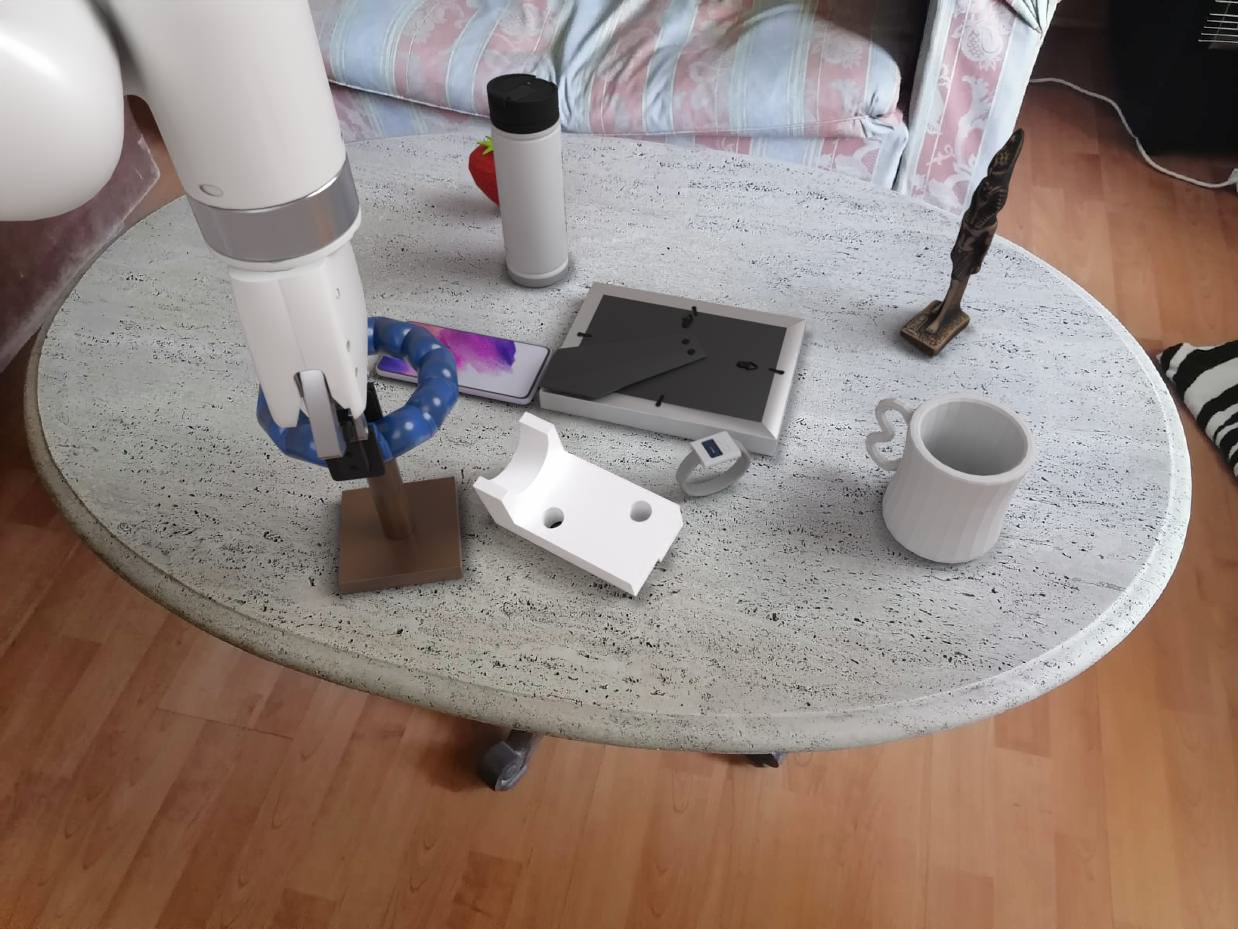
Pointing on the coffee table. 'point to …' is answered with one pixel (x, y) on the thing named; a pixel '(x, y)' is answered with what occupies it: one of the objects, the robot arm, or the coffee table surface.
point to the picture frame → (676, 366)
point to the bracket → (580, 509)
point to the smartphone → (483, 364)
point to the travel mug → (529, 177)
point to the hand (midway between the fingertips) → (360, 451)
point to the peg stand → (399, 533)
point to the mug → (952, 473)
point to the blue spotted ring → (402, 424)
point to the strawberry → (484, 169)
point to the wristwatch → (713, 463)
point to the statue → (967, 253)
